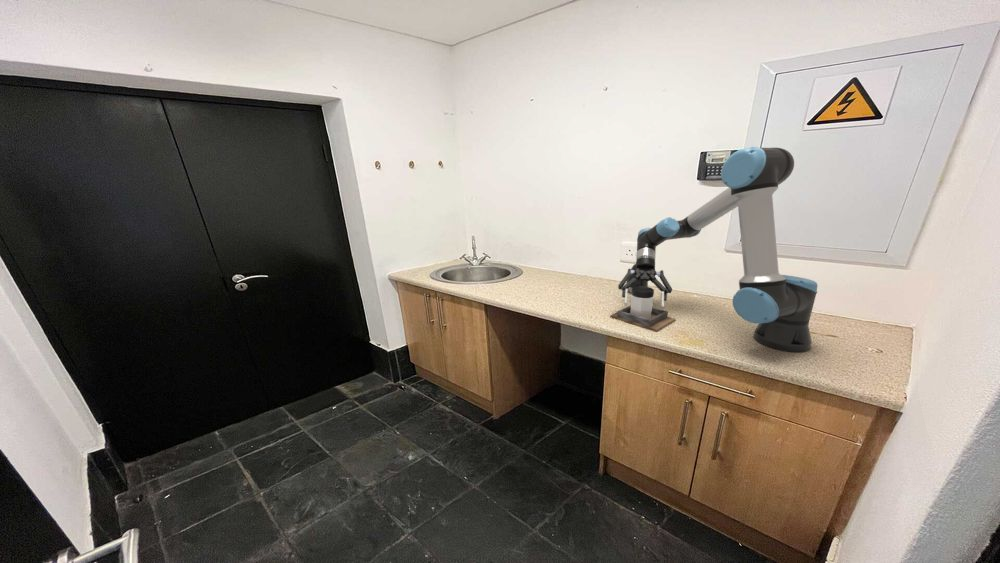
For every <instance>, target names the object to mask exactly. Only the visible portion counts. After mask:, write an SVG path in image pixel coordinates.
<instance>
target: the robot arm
mask: <svg viewBox="0 0 1000 563" xmlns="http://www.w3.org/2000/svg"><path fill="white" fill-rule="evenodd" d="M794 167H795V159H794V156H793V155H792V154H791V152H789V150H786V149H785V148H781V147H758V146H751V147H746V148H745V147H744V148H741V149H739V150H736V151H735V152H733V153H731V154H730V156H728V158H727V159H726V161H725V162H724V163H723V165H722V167H721V171H720V172H721V174H720V177H721V178H720V179H721V180H722V183H723V184H724V185H726V187H728V188H726V189H725V190H723V191H722V192H720V193H719V194H717V195H716V196H714V197H713V198H712V199H710V200H709V201H708V202H706V203H704V204H703V205H702V206H700V207H699V208H697V209H696V210H694V211H693V212H691V213H690V214H689V215H687V216H685V218H683V219H680V220H677V219H676V218H672V217H665V218H664V219H662V220H660V221H659V222H658V223H657V224H655V225H654V226H653V227H645V228H642V229H640V230H639V231H638V234H637V238H636V243H637V244H636V256H635V257H636V258H635V260H636V261H635V264H636V269H635V270H631V268H627V272H626V274H625V275H624V276H623V278H622V279H621V281H620V282H619V284H618V286H617V287H618V290H621V291H622V294H621V295H622V296H621V297H622V298H624V306H625V307H627V303H628V301H627V300H628V291H629V290H628V288H629V287H630V286H632V285H633V284H634V283H635V282H637V281H638V280H641V281H648V282H651V283H652V284H654V286H656V288H657V289H658V290H659V291H661V294H660V309H661V310H664V306H665V302H666V301H667V299H668V294H671V293H672V291H673V288H672V286H671V284H670V283H669V281H668V279H667V278H666V277H665V275H664V274H665V272H664V270H663V269H661V270H660V271H656V252H657V251H656V250H657V248H656V247H658V246H659V245H661V244H662V243H664V242H666V241H669V240H677V239H685V238H687V239H688V238H689V239H690V238H692V237H696V236H698V235H699V234H700V233H701V231H702V229H704V228H706V227H707V226H708V225H710V224H712V223H713V222H715V221H716V220H719V219H720V218H723V217H724V216H725V215H727V214H728V213H730V212H731V211H733V210H734V209H736V208H738V209H737V210H738V211H737V212H738V221H739V232H740V243H741V253H742V254H741V257H742V265H743V267H742V268H743V276H742V277H741V278H740V279H739V280H738V286H739V289H738V290H737V291H736V292H735V293H734V294H733V296H732V306H733V309H734V311H735V313H736V314H737V315H738V316H739V317H741V318H742V319H743V320H744V321H747V322H748V323H751V324H757V326H756V327H755V329H754V331H753V339H754V340H755V341H757V343H759V344H762V345H763V346H766V347H769V348H772V349H775V350H779V351H785V352H792V353H803V352H807V351H809V350H811V347H812V336H811V331H810V328H809V325H810V320H811V316H812V314H813V313H812V312H813V308H814V304H815V301H816V296H817V294H818V283H817V281H815V280H812V279H809V278H805V277H799V276H793V275H787V274H780V272H779V262H778V248H777V236H776V226H775V214H774V213H775V212H774V211H775V210H774V203H773V202H774V201H773V199H774V198H773V195H774V194H775V192H776V191H777V190H778V189H779V185H781V184H783V182H785V181H786V180H787V179H788V178H789V177H790V176H791V175H792V173H793V170H794ZM633 273H634V274H635V275H636V276H635V277H634V278H633V279H631V280H630V281H629V282H628V283H627V284H626V282H627V280H628V278H629V277H630V275H632V274H633ZM656 276H657V277H658V278H659V280H658V278H656ZM660 281H661V282H660Z"/></svg>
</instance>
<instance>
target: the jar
mask: <svg viewBox="0 0 1000 563" xmlns="http://www.w3.org/2000/svg"><path fill="white" fill-rule="evenodd" d="M654 294H655V289H654V288H653V287H649V286H648V287H645V286H636V287H633V288H632V292H631V296H630V298H631V299H630V305H631V309H630V314H633V315H636V316H640V317H643V318H646V319H651V312H652V307H653V306H654V304H653V301H654Z"/></svg>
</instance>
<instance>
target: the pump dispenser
mask: <svg viewBox="0 0 1000 563" xmlns="http://www.w3.org/2000/svg"><path fill="white" fill-rule="evenodd" d="M630 269H631V270H635V269H636V263H635V264H633V265H632V266H631V267H630ZM635 276H636V275H635V274H634V273H633V274H632V275H630V277H629V278H628V280H627V281H626V283H625V284H627V283H628V282H629V281H630V280H631V279H633V278H634V277H635ZM636 286H645V287H649V281H641V280H638V281H637V282H635V283H634V284H633V285H632V286H630V287H629V288H628V290H627V291H629V292H630V293H632V288H633V287H636Z"/></svg>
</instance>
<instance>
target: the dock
mask: <svg viewBox="0 0 1000 563" xmlns="http://www.w3.org/2000/svg"><path fill="white" fill-rule="evenodd" d="M630 309H631V304H630V305H627V306H625V307H624V308H622V309H619V310H618V311H616V312H613V313H612V314H610V318H611V317H612V318H611V319H614V318H615V319H614V320H617V319H618V321H620V320H621V321H622V322H623V321H624V323H627V324H630V325H633V326H636V327H640V328H643V329H645V330H649V331H652V332H655V333H657V332H659V331H661V330H663V329H665V328H667V327H668V326H670V325H672V324H673V323H675V322H676V318H673V317H669V316H668V315H669V311H667V310H664V309H661V308H660V309H659V308H657V307H653V306H652V312H651V319H646V318H643V317H640V316H636V315H633V314H630Z"/></svg>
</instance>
